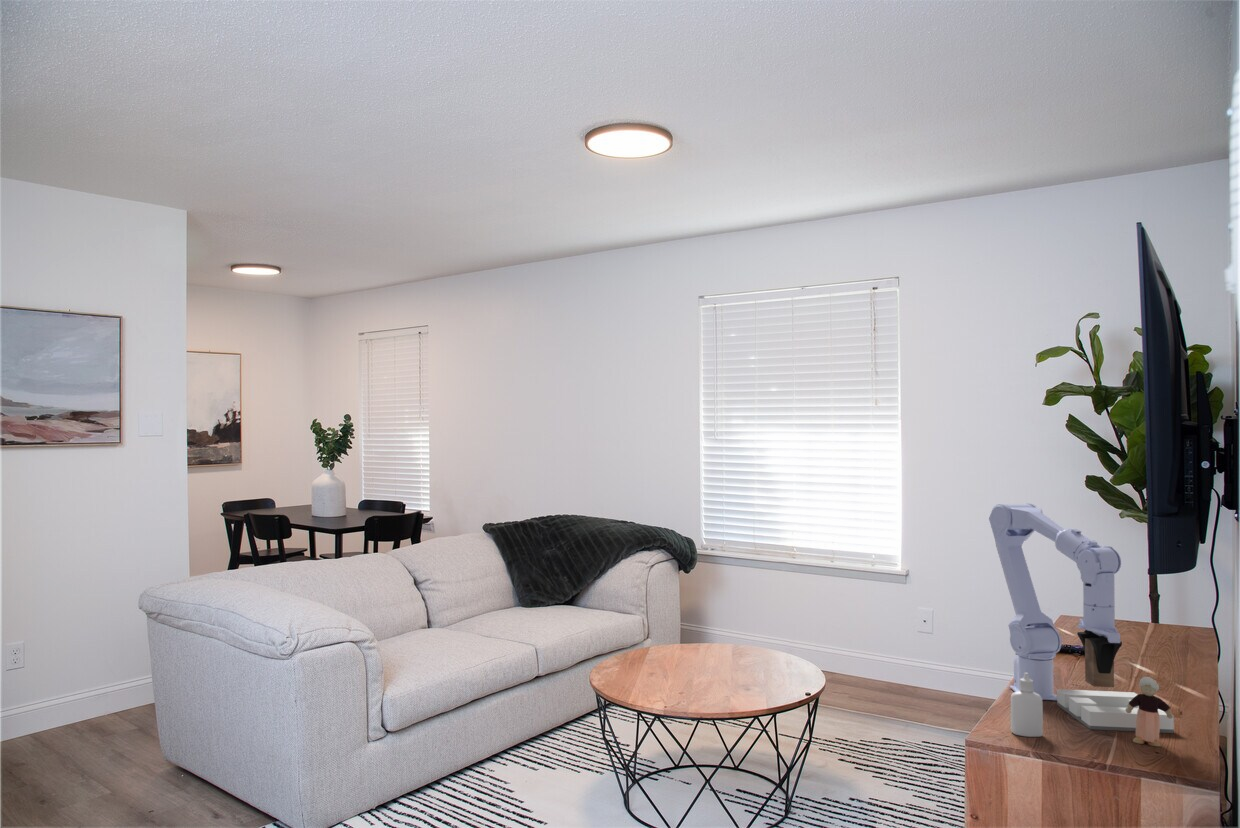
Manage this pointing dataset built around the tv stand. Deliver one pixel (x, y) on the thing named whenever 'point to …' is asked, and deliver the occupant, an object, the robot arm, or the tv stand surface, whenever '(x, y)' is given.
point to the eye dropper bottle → (1026, 710)
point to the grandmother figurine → (1148, 712)
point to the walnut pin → (1091, 669)
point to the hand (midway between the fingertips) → (1099, 670)
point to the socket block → (1106, 710)
